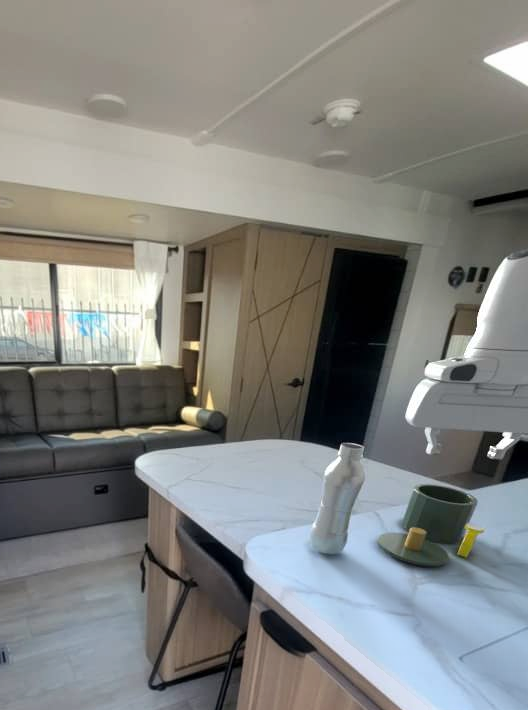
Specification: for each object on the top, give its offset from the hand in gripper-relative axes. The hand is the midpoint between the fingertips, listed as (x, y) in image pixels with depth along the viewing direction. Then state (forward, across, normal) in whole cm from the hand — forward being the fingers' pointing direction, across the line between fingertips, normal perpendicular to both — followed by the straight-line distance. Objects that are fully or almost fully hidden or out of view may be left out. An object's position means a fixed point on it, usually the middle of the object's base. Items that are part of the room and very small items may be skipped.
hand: (462, 456), depth 68 cm
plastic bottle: (+19, +19, +4) cm, 27 cm away
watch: (+19, -7, -2) cm, 21 cm away
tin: (+19, -5, -10) cm, 22 cm away
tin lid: (+18, +3, 0) cm, 19 cm away
